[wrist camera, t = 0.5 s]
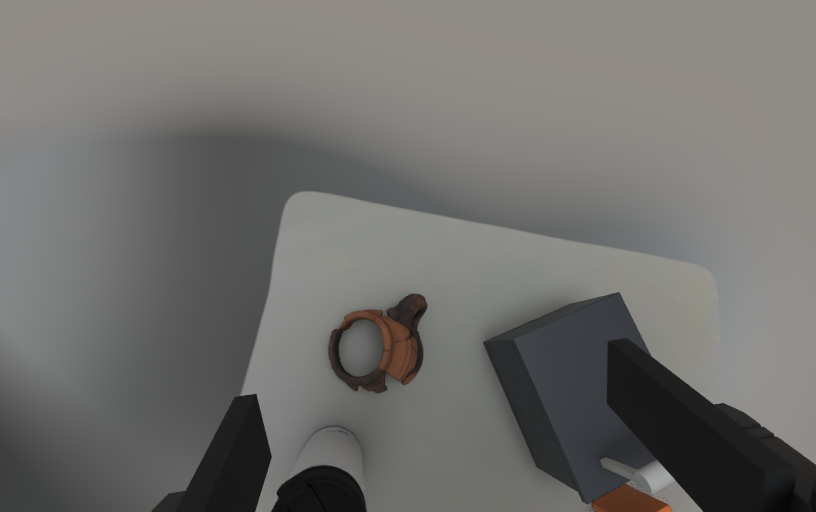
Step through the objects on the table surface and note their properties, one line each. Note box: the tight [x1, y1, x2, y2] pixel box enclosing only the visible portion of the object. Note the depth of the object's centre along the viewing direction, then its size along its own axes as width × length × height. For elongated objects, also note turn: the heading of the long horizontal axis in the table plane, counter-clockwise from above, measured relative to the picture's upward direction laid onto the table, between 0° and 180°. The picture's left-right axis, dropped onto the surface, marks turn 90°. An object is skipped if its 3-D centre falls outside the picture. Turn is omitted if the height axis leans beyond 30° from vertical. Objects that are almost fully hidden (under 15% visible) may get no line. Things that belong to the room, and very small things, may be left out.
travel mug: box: [271, 426, 367, 512], centre depth 35 cm, size 6×7×20 cm
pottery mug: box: [328, 294, 427, 393], centre depth 46 cm, size 12×10×8 cm
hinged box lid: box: [511, 292, 676, 504], centre depth 37 cm, size 16×12×8 cm
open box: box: [483, 294, 612, 492], centre depth 46 cm, size 15×12×9 cm
